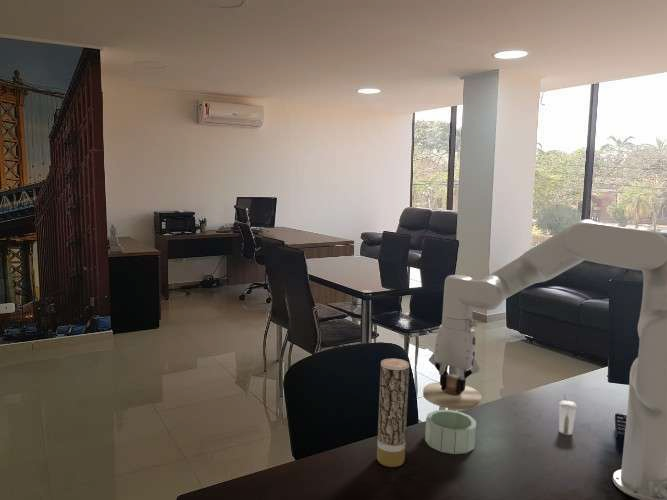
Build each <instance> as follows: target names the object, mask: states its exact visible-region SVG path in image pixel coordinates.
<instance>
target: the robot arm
mask: <svg viewBox="0 0 667 500" xmlns="http://www.w3.org/2000/svg"><path fill="white" fill-rule="evenodd" d="M584 261H586V262H590V263H591V262H592V263H595V264H601V265H605V266H606V265H607V266H613V267H618V268H623V269H630V270H635V271H641V273H642V276H643V285H642V298H641V305H640V307H641V308H640V312H639V319H638V323H637V329H636V330H637V335H638V338H639V341H638V342H639V343H638V344H639V346H638V352H637V353H638V354H637V357H636V358H635V359H634V360H633V362H632V364H631V367H630V370H629V383H628V384H629V387H628V401H627V411H626V421H625V431H624V439H623V449H622V460H621V469H618V470H616V471H614V472H613V474H612V481H613V483H614V485H615V487H617V488H618V489H619V490H620V491H621V492H623V493H624V494H626V495H628V496H630V497H632V498H634V499H637V500H667V237H666V236H665V235H664V234H661V233H660V232H659V231H656V230H655V229H652V228H649V227H643V226H642V227H636V228H632V227H625V226H616V225H610V224H605V223H604V224H603V223H600V222H597V221H596V220H593V219H588V218H587V219H581V220H578V221H575V222H574V223H572V224H571V225H570V226H567V227H565V228H564V229H562V230H560V231H558V232H557V233H556V234H554V235H552V236H550V237H549V238H547V239H545V240H544V241H543V240H542V242H540V243H539V244H537V245H534V247H532V248H530V249H528V250H527V251H525V252H524V253H523V254H522V255H520V256H519V257H517V258H515V259H514V260H512V261H511V262H508V263H507V264H505V265H504V266H502V267H501V268H499V269H496V270H495V271H493V272H492V273H489V274H488V275H487V276H485V277H484V278H482V279H480V280H475V279H474V278H473V277H471V276H469V275H463V274H462V275H461V274H450V275H447V276H446V278H445V280H444V285H443V286H444V287H443V302H442V315H441V316H442V318H441V324H440V325H439V326H438V331H437V334H436V339H435V344H434V351H433V353H432V354H431V356H430V357H429V359H428V361H429V362H430V363H431V365H433V366H434V367H435V368H436V370H437V371H438V375H439V376H440V380H439V382H440V385H441V390H445V386H446V376H447V375H448V374H449V372H448V368H449V367H454V368H458V371H459V376H460V377H459V379H458V382H457V394H461V393H462V392H463V391H464V390H465V385H466V379H467V378H468V377H470V376H471V375H474V374H477V373H479V372H481V368H480V366H479V363H478V362H477V340H476V339H477V338H476V331H475V330H476V329H474V327H475V328H477V327H478V321H475V320H474V317H473V310H474V308H475V309H479V310H483V311H492V310H496V309H497V308H498V307H499V306H500V305H501V304H503V302H504V301H505V300H506V299H508V298H510V297H511V296H513V295H515V294H517V293H519V292H521V291H523V290H525V289H526V288H528V287H530V286H533V285H534V284H537V283H538V284H539V283H544V282H547V281H549V280H552V279H554V278H556V277H557V276H560V275H561V274H563V273H565V272H566V271H568V270H569V269H572V268H573V267H575V266H577V265H579V264H581V263H583V262H584ZM471 367H472V368H471Z"/></svg>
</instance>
